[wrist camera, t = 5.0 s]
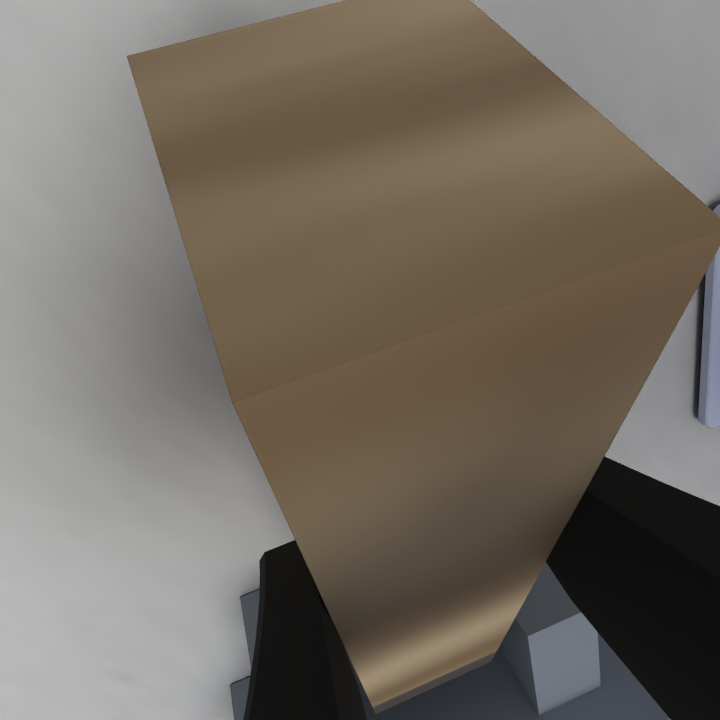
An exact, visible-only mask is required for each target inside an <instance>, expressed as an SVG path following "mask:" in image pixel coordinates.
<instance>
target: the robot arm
mask: <svg viewBox="0 0 720 720" xmlns="http://www.w3.org/2000/svg"><path fill="white" fill-rule="evenodd" d="M713 212H714V213H715V214H717V215H718V216H719V217H720V204H719V205H718V206H717V207H716V208H715V209H714V210H713ZM698 418H699V421H700V422H701V423H702V424H703V425H705V426H706V427H708V428H717V427H719V426H720V247H719V249H718V251H717V253H716V254H715V256H714V258H713V260H712V262H711V263H710V265H709V267H708V269H707V271H706V280H705V299H704V318H703V337H702V356H701V375H700V394H699V413H698ZM546 563H547V564H548V566H549V568H550V569H551V571H552V572H553V574H554V575H555V577H556V578H557V580H558V581H559V583H560V584H561V586H562V587H563V589H564V590H565V592H566V593H567V595H568V596H569V598H570V599H571V600H572V602H573V603H574V604H575V605H576V606H577V608H578V609H579V610H580V611H581V613H582V614H583V615H584V616H585V617H586V619H587V620H588V621H589V622H590V624H591V625H592V626H593V627H594V628H595V630H596V631H597V632H598V633H599V634H600V636H601V637H602V638H603V639H604V640H605V642H606V643H607V644H608V645H609V647H610V648H611V649H612V650H613V651H614V652H615V654H616V655H617V656H618V657H619V658H620V660H621V661H622V662H623V663H624V664H625V666H626V667H627V668H628V669H629V670H630V672H631V673H632V674H633V675H634V676H635V678H636V679H637V680H638V681H639V682H640V684H641V685H642V686H643V687H644V688H645V690H646V691H647V692H648V693H649V694H650V695H651V697H652V698H653V699H654V700H655V701H656V703H657V704H658V705H659V706H660V707H661V709H662V710H663V711H664V712H665V713H666V715H667V716H668V717H669V718H670V719H671V720H720V506H718V505H715V504H713V503H710V502H708V501H705V500H703V499H701V498H698V497H696V496H693V495H691V494H688V493H686V492H684V491H681V490H679V489H677V488H674V487H672V486H670V485H667V484H665V483H663V482H660V481H658V480H656V479H653V478H651V477H649V476H647V475H644V474H642V473H640V472H638V471H635V470H633V469H631V468H629V467H626V466H624V465H622V464H620V463H618V462H615V461H613V460H611V459H609V458H606V457H604V458H603V459H602V461H601V463H600V465H599V467H598V468H597V470H596V472H595V474H594V476H593V478H592V479H591V481H590V483H589V485H588V487H587V488H586V490H585V492H584V494H583V496H582V497H581V499H580V501H579V503H578V505H577V507H576V508H575V510H574V512H573V514H572V516H571V517H570V519H569V521H568V522H567V524H566V526H565V527H564V529H563V531H562V533H561V535H560V536H559V538H558V540H557V542H556V544H555V545H554V547H553V549H552V551H551V553H550V554H549V556H548V558H547V560H546ZM243 720H367V718H366V714H365V710H364V706H363V702H362V697H361V693H360V690H359V687H358V684H357V681H356V678H355V675H354V672H353V669H352V666H351V663H350V661H349V658H348V655H347V652H346V649H345V646H344V644H343V642H342V640H341V638H340V635H339V633H338V631H337V629H336V627H335V625H334V623H333V620H332V618H331V616H330V614H329V612H328V609H327V607H326V605H325V603H324V601H323V599H322V596H321V594H320V592H319V590H318V588H317V586H316V583H315V581H314V579H313V577H312V575H311V573H310V570H309V568H308V566H307V564H306V562H305V560H304V557H303V555H302V553H301V551H300V549H299V547H298V544H297V542H296V540H294V541H292V542H289V543H287V544H284V545H282V546H279V547H277V548H274V549H272V550H269V551H267V552H265V553H264V554H263V556H262V558H261V559H260V594H259V609H258V620H257V630H256V640H255V648H254V654H253V661H252V668H251V675H250V682H249V689H248V696H247V702H246V708H245V713H244V718H243Z"/></svg>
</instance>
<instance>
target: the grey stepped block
mask: <svg viewBox="0 0 720 720" xmlns="http://www.w3.org/2000/svg"><path fill="white" fill-rule="evenodd" d="M259 594H260V589H259V590H257V591H254V592H252V593H250V594H247V595H245V596H242V597H240V600H241V606H242V612H243V619H244V625H245V631H246V638H247V644H248V651H249V657H250V663H251V668H252V661H253V654H254V648H255V640H256V630H257V620H258V609H259ZM346 652H347V651H346ZM347 655H348V653H347ZM348 658H349V661H350V663H351V666H352V669H353V672H354V675H355V678H356V681H357V684H358V687H359V690H360V693H361V697H362V702H363V706H364V710H365V714H366V718H367V720H671V719H670V718H669V717H668V716H667V715H666V713H665V712H664V711H663V710H662V709H661V707H660V706H659V705H658V704H657V703H656V701H655V700H654V699H653V698H652V697H651V695H650V694H649V693H648V692H647V691H646V690H645V688H644V687H643V686H642V685H641V684H640V682H639V681H638V680H637V679H636V678H635V676H634V675H633V674H632V673H631V672H630V670H629V669H628V668H627V667H626V666H625V664H624V663H623V662H622V661H621V660H620V658H619V657H618V656H617V655H616V654H615V652H614V651H613V650H612V649H611V648H610V647H609V645H608V644H607V643H606V642H605V640H604V639H603V638H602V637H601V636H600V634H599V633H598V632H597V631H596V630H595V628H594V627H593V626H592V625H591V624H590V622H589V621H588V620H587V619H586V617H585V616H584V615H583V614H582V613H581V611H580V610H579V609H578V608H577V606H576V605H575V604H574V603H573V602H572V600H571V599H570V598H569V596H568V595H567V593H566V592H565V590H564V589H563V587H562V586H561V584H560V583H559V581H558V580H557V578H556V577H555V575H554V574H553V572H552V571H551V569H550V568H549V566H548V564H547V563H545V565H544V566H543V568H542V570H541V572H540V574H539V575H538V577H537V579H536V581H535V583H534V585H533V586H532V588H531V590H530V592H529V594H528V595H527V597H526V599H525V601H524V603H523V605H522V606H521V608H520V610H519V612H518V614H517V615H516V617H515V619H514V621H513V623H512V624H511V626H510V628H509V630H508V632H507V634H506V635H505V637H504V639H503V641H502V643H501V644H500V646H499V648H498V650H497V652H496V653H495V655H494V657H493V659H492V661H491V662H489V663H487V664H485V665H482V666H480V667H478V668H476V669H474V670H471V671H469V672H467V673H465V674H463V675H460V676H458V677H456V678H454V679H452V680H449V681H447V682H445V683H443V684H441V685H438V686H436V687H434V688H432V689H430V690H427V691H425V692H423V693H421V694H419V695H416V696H414V697H412V698H410V699H408V700H405V701H403V702H401V703H399V704H397V705H394V706H392V707H390V708H388V709H386V710H383V711H381V712H379V713H377V714H375V712H374V709H373V707H372V705H371V703H370V701H369V699H368V696H367V694H366V692H365V690H364V688H363V685H362V683H361V681H360V679H359V677H358V675H357V672H356V670H355V668H354V666H353V664H352V662H351V659H350V657H349V655H348ZM249 682H250V677H248V678H246V679H243V680H241V681H239V682H236V683H234V684H232V685H230V689H231V697H232V706H233V714H234V720H243V718H244V713H245V708H246V702H247V696H248V689H249Z"/></svg>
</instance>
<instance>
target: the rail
mask: <svg viewBox="0 0 720 720" xmlns="http://www.w3.org/2000/svg"><path fill="white" fill-rule="evenodd" d="M127 58H128V61H129V64H130V68H131V71H132V74H133V78H134V81H135V84H136V87H137V91H138V94H139V97H140V101H141V104H142V107H143V110H144V114H145V117H146V120H147V124H148V127H149V130H150V133H151V137H152V140H153V143H154V147H155V150H156V153H157V156H158V160H159V163H160V166H161V170H162V173H163V176H164V180H165V183H166V186H167V189H168V193H169V196H170V199H171V203H172V206H173V209H174V212H175V216H176V219H177V222H178V226H179V229H180V232H181V235H182V239H183V242H184V245H185V249H186V252H187V255H188V258H189V262H190V265H191V268H192V272H193V275H194V278H195V281H196V285H197V288H198V291H199V295H200V298H201V301H202V304H203V308H204V311H205V314H206V318H207V321H208V324H209V328H210V331H211V334H212V337H213V341H214V344H215V347H216V351H217V354H218V357H219V360H220V364H221V367H222V370H223V374H224V377H225V380H226V383H227V387H228V390H229V393H230V397H231V400H232V403H233V405H234V408H235V410H236V412H237V414H238V416H239V418H240V421H241V423H242V425H243V427H244V429H245V431H246V434H247V436H248V438H249V440H250V442H251V444H252V447H253V449H254V451H255V453H256V455H257V457H258V460H259V462H260V464H261V466H262V468H263V470H264V473H265V475H266V477H267V479H268V481H269V484H270V486H271V488H272V490H273V492H274V494H275V497H276V499H277V501H278V503H279V505H280V507H281V510H282V512H283V514H284V516H285V518H286V520H287V523H288V525H289V527H290V529H291V531H292V533H293V536H294V538H295V540H296V542H297V544H298V547H299V549H300V551H301V553H302V555H303V557H304V560H305V562H306V564H307V566H308V568H309V570H310V573H311V575H312V577H313V579H314V581H315V583H316V586H317V588H318V590H319V592H320V594H321V596H322V599H323V601H324V603H325V605H326V607H327V609H328V612H329V614H330V616H331V618H332V620H333V623H334V625H335V627H336V629H337V631H338V633H339V635H340V638H341V640H342V642H343V644H344V646H345V649H346V651H347V653H348V655H349V657H350V659H351V662H352V664H353V666H354V668H355V670H356V672H357V675H358V677H359V679H360V681H361V683H362V685H363V688H364V690H365V692H366V694H367V696H368V699H369V701H370V703H371V705H372V707H373V709H374V712H375V714H377V713H379V712H381V711H383V710H386V709H388V708H390V707H392V706H394V705H397V704H399V703H401V702H403V701H405V700H408V699H410V698H412V697H414V696H416V695H419V694H421V693H423V692H425V691H427V690H430V689H432V688H434V687H436V686H438V685H441V684H443V683H445V682H447V681H449V680H452V679H454V678H456V677H458V676H460V675H463V674H465V673H467V672H469V671H471V670H474V669H476V668H478V667H480V666H482V665H485V664H487V663H489V662H491V661H492V659H493V657H494V655H495V653H496V652H497V650H498V648H499V646H500V644H501V643H502V641H503V639H504V637H505V635H506V634H507V632H508V630H509V628H510V626H511V624H512V623H513V621H514V619H515V617H516V615H517V614H518V612H519V610H520V608H521V606H522V605H523V603H524V601H525V599H526V597H527V595H528V594H529V592H530V590H531V588H532V586H533V585H534V583H535V581H536V579H537V577H538V575H539V574H540V572H541V570H542V568H543V566H544V565H545V563H546V560H547V558H548V556H549V554H550V553H551V551H552V549H553V547H554V545H555V544H556V542H557V540H558V538H559V536H560V535H561V533H562V531H563V529H564V527H565V526H566V524H567V522H568V521H569V519H570V517H571V516H572V514H573V512H574V510H575V508H576V507H577V505H578V503H579V501H580V499H581V497H582V496H583V494H584V492H585V490H586V488H587V487H588V485H589V483H590V481H591V479H592V478H593V476H594V474H595V472H596V470H597V468H598V467H599V465H600V463H601V461H602V459H603V458H604V456H605V454H606V452H607V450H608V449H609V447H610V445H611V443H612V441H613V439H614V438H615V436H616V434H617V432H618V430H619V429H620V427H621V425H622V423H623V421H624V419H625V418H626V416H627V414H628V412H629V410H630V409H631V407H632V405H633V403H634V401H635V400H636V398H637V396H638V394H639V392H640V390H641V389H642V387H643V385H644V383H645V381H646V380H647V378H648V376H649V374H650V372H651V370H652V369H653V367H654V365H655V363H656V361H657V360H658V358H659V356H660V354H661V352H662V351H663V349H664V347H665V345H666V343H667V341H668V340H669V338H670V336H671V334H672V332H673V331H674V329H675V327H676V325H677V323H678V322H679V320H680V318H681V316H682V314H683V312H684V311H685V309H686V307H687V305H688V303H689V302H690V300H691V298H692V296H693V294H694V292H695V291H696V289H697V287H698V285H699V283H700V282H701V280H702V278H703V276H704V274H705V273H706V271H707V269H708V267H709V265H710V263H711V262H712V260H713V258H714V256H715V254H716V253H717V251H718V249H719V247H720V217H719V216H718V215H717V214H715V213H714V212H713V211H712V210H711V209H710V208H709V207H707V206H706V205H705V204H704V203H703V202H702V201H700V200H699V199H698V198H697V197H696V196H695V195H694V194H692V193H691V192H690V191H689V190H688V189H687V188H686V187H684V186H683V185H682V184H681V183H680V182H679V181H677V180H676V179H675V178H674V177H673V176H672V175H671V174H669V173H668V172H667V171H666V170H665V169H664V168H662V167H661V166H660V165H659V164H658V163H657V162H656V161H654V160H653V159H652V158H651V157H650V156H649V155H647V154H646V153H645V152H644V151H643V150H642V149H641V148H639V147H638V146H637V145H636V144H635V143H634V142H633V141H631V140H630V139H629V138H628V137H627V136H626V135H624V134H623V133H622V132H621V131H620V130H619V129H618V128H616V127H615V126H614V125H613V124H612V123H611V122H609V121H608V120H607V119H606V118H605V117H604V116H603V115H601V114H600V113H599V112H598V111H597V110H596V109H594V108H593V107H592V106H591V105H590V104H589V103H588V102H586V101H585V100H584V99H583V98H582V97H581V96H580V95H578V94H577V93H576V92H575V91H574V90H573V89H571V88H570V87H569V86H568V85H567V84H566V83H565V82H563V81H562V80H561V79H560V78H559V77H558V76H556V75H555V74H554V73H553V72H552V71H551V70H550V69H548V68H547V67H546V66H545V65H544V64H543V63H541V62H540V61H539V60H538V59H537V58H536V57H535V56H533V55H532V54H531V53H530V52H529V51H528V50H527V49H525V48H524V47H523V46H522V45H521V44H520V43H518V42H517V41H516V40H515V39H514V38H513V37H512V36H510V35H509V34H508V33H507V32H506V31H505V30H503V29H502V28H501V27H500V26H499V25H498V24H497V23H495V22H494V21H493V20H492V19H491V18H490V17H488V16H487V15H486V14H485V13H484V12H483V11H482V10H480V9H479V8H478V7H477V6H476V5H475V4H474V3H472V2H471V1H470V0H345V1H342V2H338V3H334V4H330V5H326V6H322V7H318V8H314V9H310V10H306V11H302V12H298V13H294V14H290V15H286V16H283V17H279V18H275V19H271V20H267V21H263V22H259V23H255V24H251V25H247V26H243V27H239V28H235V29H231V30H228V31H224V32H220V33H216V34H212V35H208V36H204V37H200V38H196V39H192V40H188V41H184V42H180V43H176V44H173V45H169V46H165V47H161V48H157V49H153V50H149V51H145V52H141V53H137V54H133V55H129V56H127Z"/></svg>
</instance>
